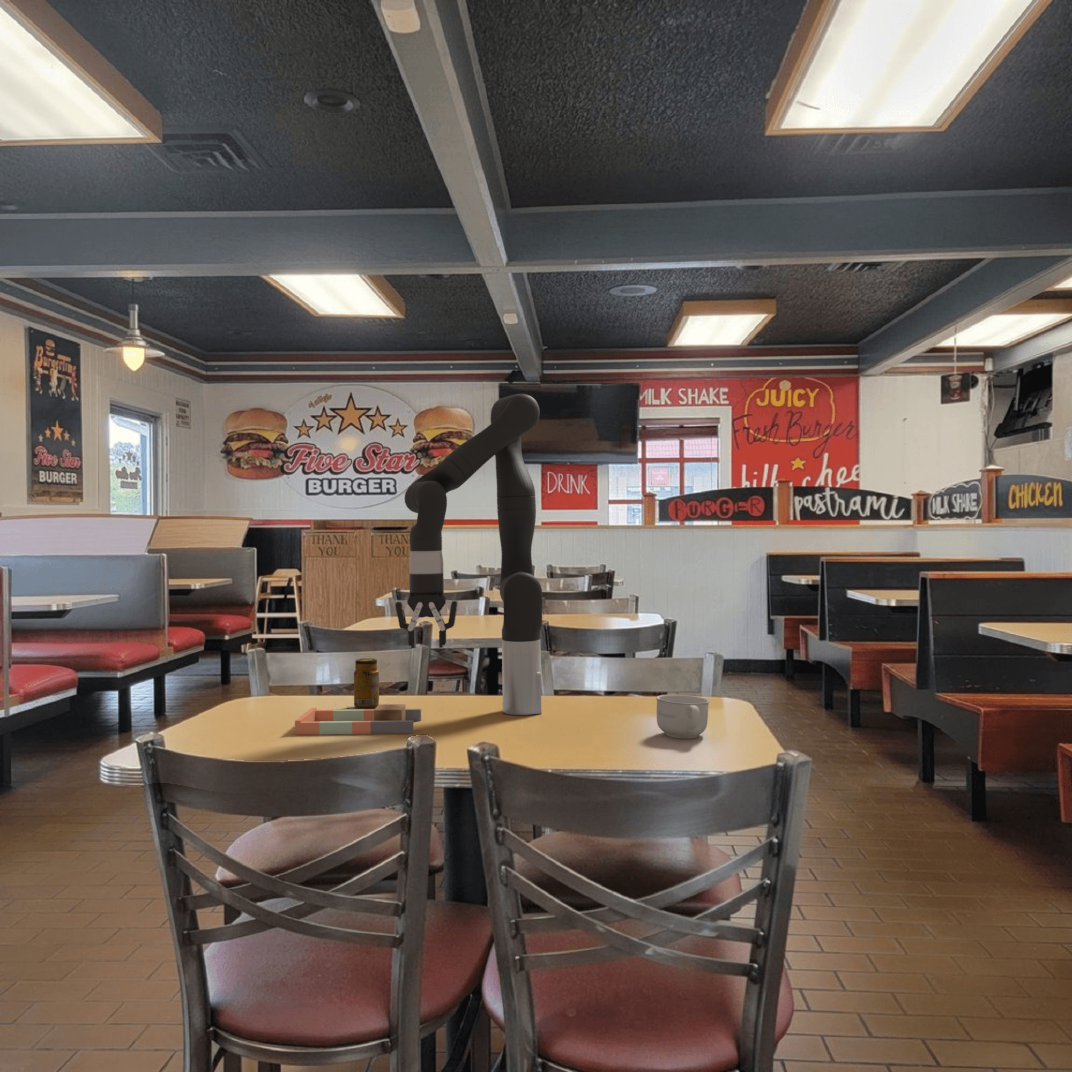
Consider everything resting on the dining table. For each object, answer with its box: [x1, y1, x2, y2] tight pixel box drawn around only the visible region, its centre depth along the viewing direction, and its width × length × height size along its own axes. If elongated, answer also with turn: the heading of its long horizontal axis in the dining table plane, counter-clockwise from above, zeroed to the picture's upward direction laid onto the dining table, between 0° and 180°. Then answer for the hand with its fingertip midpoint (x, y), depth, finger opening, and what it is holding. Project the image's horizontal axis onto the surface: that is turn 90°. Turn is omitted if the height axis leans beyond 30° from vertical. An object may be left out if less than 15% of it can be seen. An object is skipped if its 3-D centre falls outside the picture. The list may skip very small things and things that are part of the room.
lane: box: [294, 707, 422, 736], centre depth 189 cm, size 25×13×3 cm, turn 90°
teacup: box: [655, 694, 710, 740], centre depth 176 cm, size 14×11×8 cm
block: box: [374, 703, 406, 721], centre depth 189 cm, size 6×6×4 cm
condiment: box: [346, 657, 380, 710], centre depth 209 cm, size 7×8×12 cm
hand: (427, 647), depth 189 cm, fingers open, 5 cm apart
